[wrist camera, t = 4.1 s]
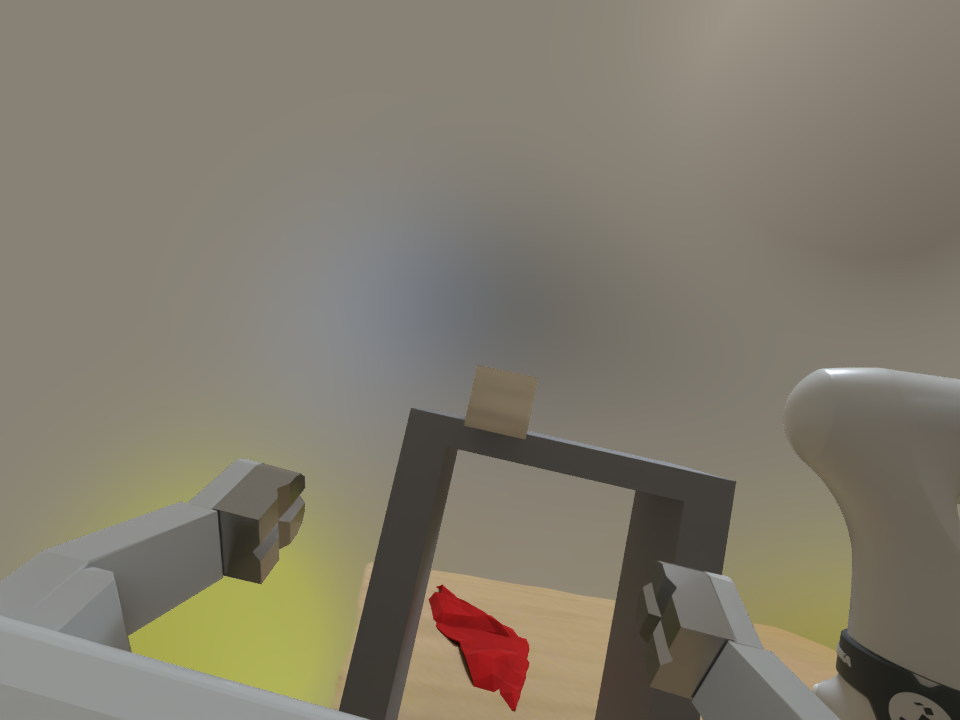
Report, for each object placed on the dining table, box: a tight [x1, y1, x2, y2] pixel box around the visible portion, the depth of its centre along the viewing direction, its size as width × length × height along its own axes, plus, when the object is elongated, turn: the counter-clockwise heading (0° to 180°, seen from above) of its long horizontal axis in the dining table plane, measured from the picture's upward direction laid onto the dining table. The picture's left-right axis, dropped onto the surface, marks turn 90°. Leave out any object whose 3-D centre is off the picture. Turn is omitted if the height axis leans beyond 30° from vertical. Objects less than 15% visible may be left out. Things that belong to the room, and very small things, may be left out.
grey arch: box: [339, 408, 736, 720], centre depth 33 cm, size 10×22×26 cm, turn 87°
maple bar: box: [464, 365, 538, 439], centre depth 33 cm, size 24×3×3 cm, turn 177°
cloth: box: [429, 585, 529, 711], centre depth 54 cm, size 26×14×2 cm, turn 10°
